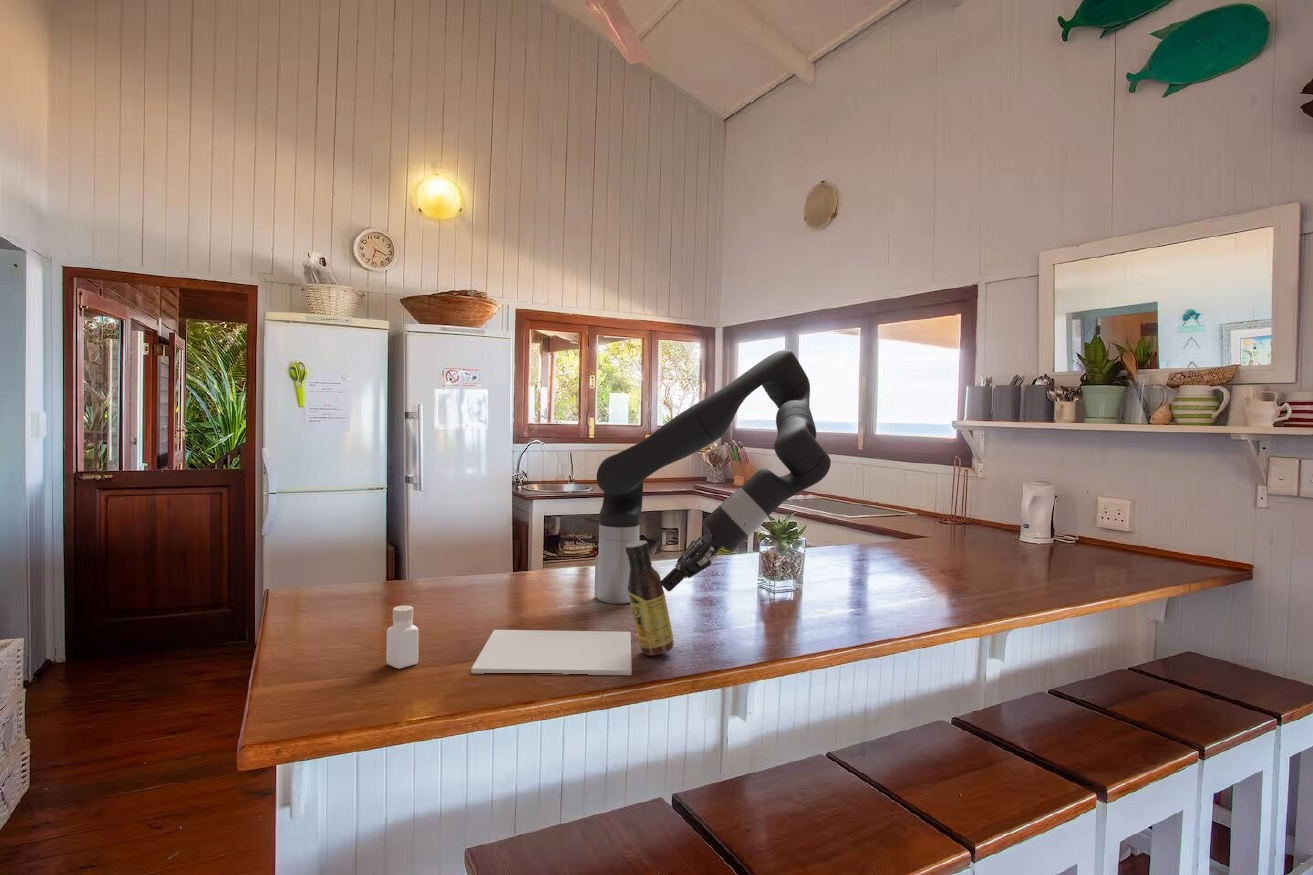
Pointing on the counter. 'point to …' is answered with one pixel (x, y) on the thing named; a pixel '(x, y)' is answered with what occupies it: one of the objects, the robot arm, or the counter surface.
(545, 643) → the cutting mat
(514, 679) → the counter surface
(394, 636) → the white pill bottle
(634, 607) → the sauce bottle
